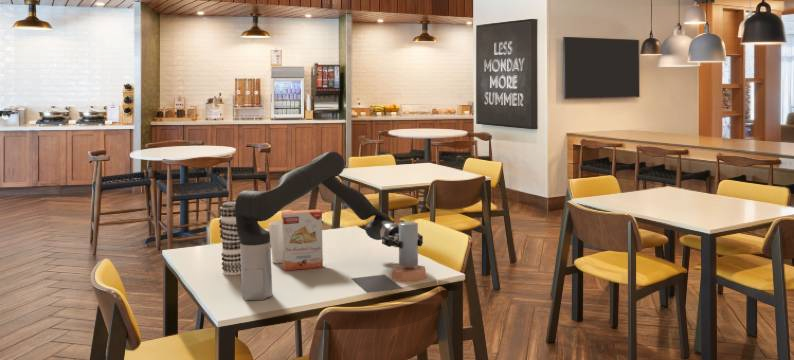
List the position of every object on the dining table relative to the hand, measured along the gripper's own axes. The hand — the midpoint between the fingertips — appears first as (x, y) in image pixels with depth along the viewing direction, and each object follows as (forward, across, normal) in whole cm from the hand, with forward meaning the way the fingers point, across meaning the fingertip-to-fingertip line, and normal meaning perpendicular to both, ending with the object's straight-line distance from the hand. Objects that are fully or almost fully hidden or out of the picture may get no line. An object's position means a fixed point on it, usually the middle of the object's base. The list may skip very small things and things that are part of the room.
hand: (410, 244), depth 225 cm
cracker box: (-31, -30, +13) cm, 45 cm away
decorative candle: (-36, -54, +13) cm, 66 cm away
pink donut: (-2, 0, +12) cm, 13 cm away
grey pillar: (-2, 0, +7) cm, 8 cm away
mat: (+1, -13, +12) cm, 18 cm away
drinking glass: (-43, -36, +13) cm, 58 cm away
